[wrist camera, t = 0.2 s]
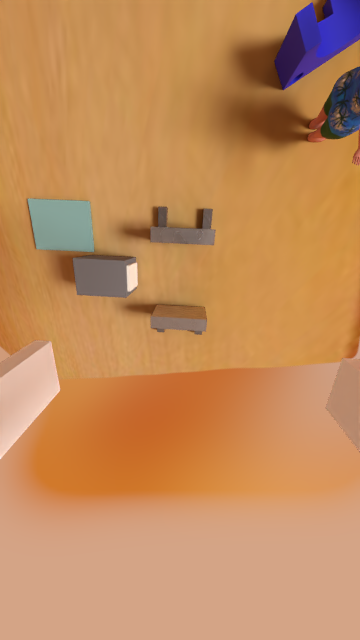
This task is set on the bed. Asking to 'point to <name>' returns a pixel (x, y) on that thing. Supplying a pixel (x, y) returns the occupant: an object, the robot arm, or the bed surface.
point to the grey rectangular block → (105, 275)
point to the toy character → (340, 112)
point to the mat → (62, 224)
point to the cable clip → (317, 39)
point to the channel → (174, 314)
